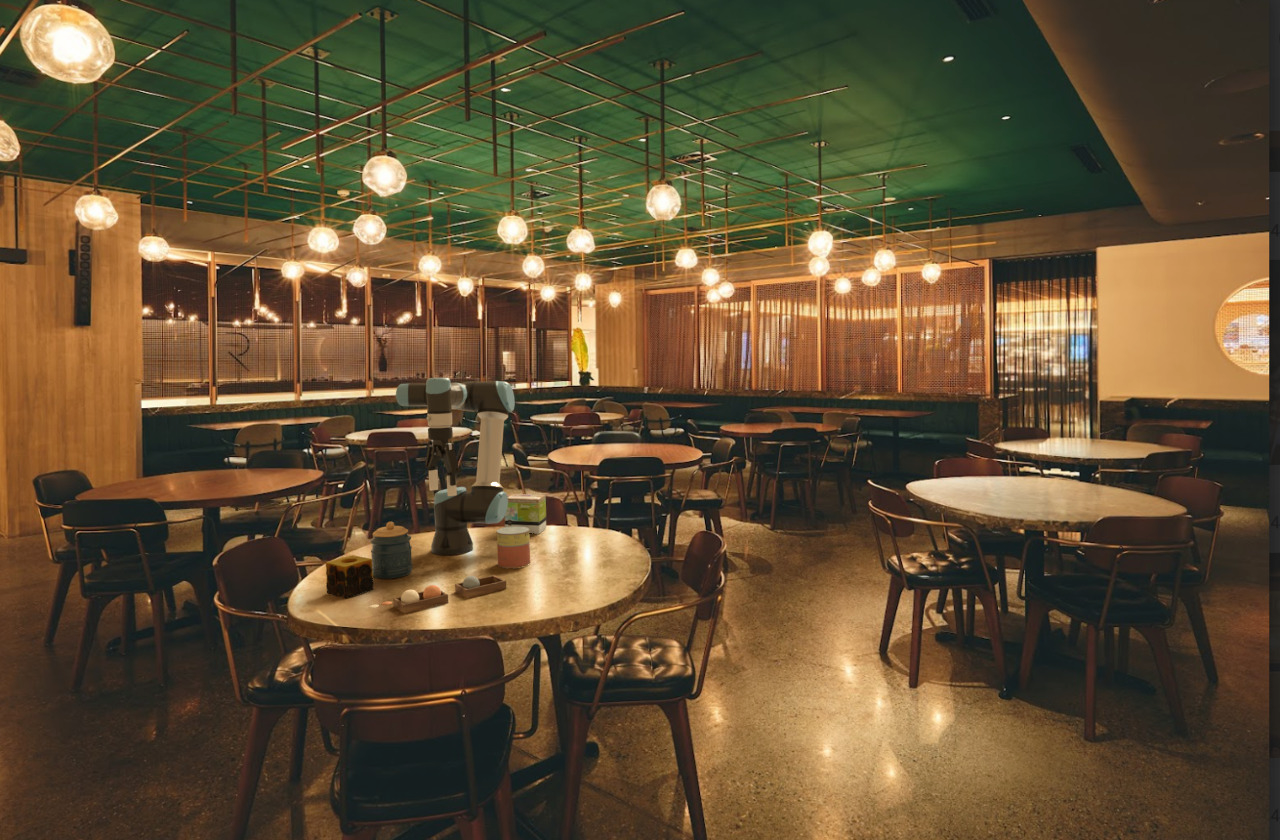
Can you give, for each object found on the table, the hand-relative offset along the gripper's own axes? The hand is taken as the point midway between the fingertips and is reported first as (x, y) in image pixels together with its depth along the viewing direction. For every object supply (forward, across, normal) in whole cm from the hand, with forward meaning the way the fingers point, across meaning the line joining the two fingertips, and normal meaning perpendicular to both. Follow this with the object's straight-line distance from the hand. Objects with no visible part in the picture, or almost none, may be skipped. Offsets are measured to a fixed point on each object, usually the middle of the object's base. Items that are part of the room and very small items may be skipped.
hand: (442, 492), depth 228 cm
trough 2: (+29, +18, +3) cm, 34 cm away
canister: (+29, -20, -10) cm, 37 cm away
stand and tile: (+29, +8, -17) cm, 34 cm away
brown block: (+29, -10, -27) cm, 41 cm away
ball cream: (+28, +18, -19) cm, 38 cm away
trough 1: (+29, +18, -16) cm, 37 cm away
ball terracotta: (+28, +18, -13) cm, 36 cm away
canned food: (+29, -2, +26) cm, 39 cm away
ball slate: (+28, +18, 0) cm, 33 cm away
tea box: (+29, -41, +54) cm, 74 cm away
